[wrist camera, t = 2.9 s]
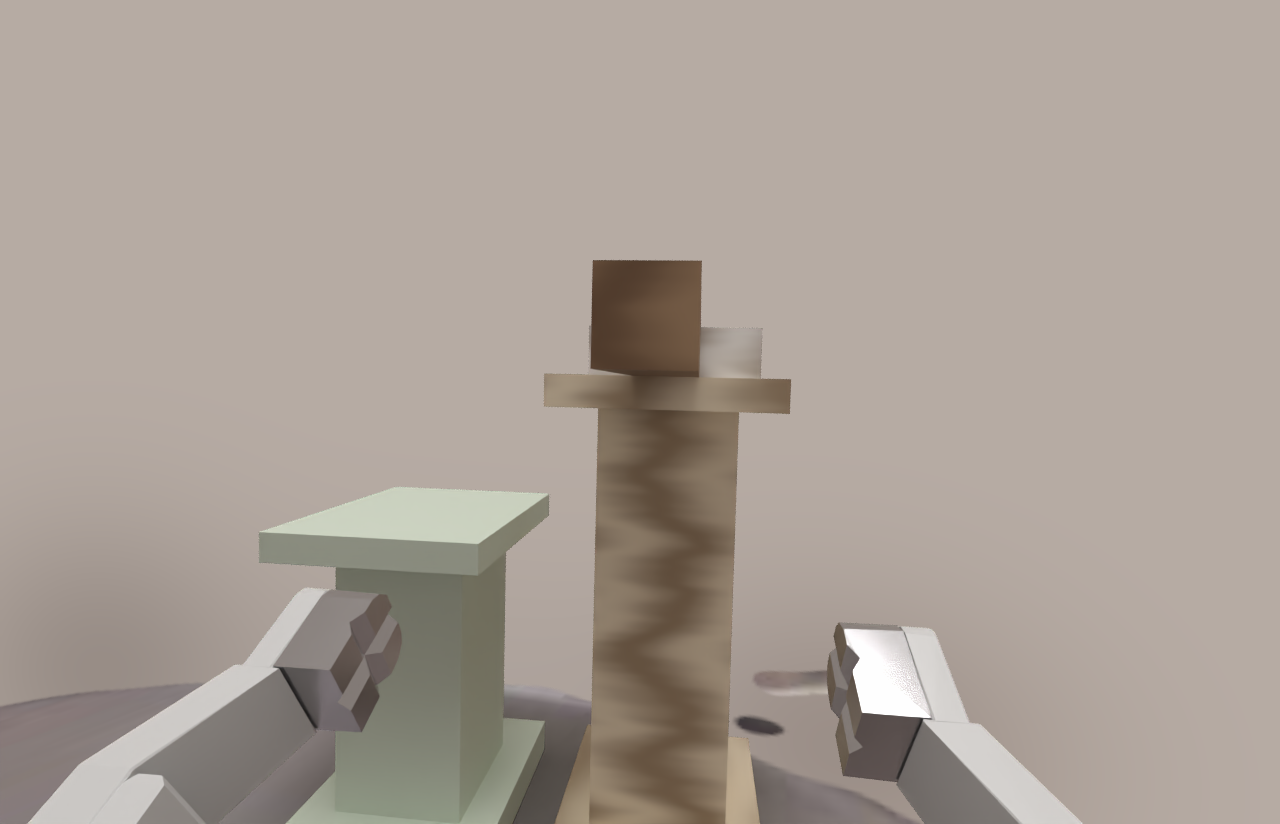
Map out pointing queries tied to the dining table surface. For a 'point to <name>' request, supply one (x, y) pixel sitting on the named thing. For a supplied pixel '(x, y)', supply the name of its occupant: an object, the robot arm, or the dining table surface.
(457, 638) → the pedestal low
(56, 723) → the dining table surface
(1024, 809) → the robot arm
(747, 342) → the mallet
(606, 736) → the pedestal tall
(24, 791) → the dining table surface
